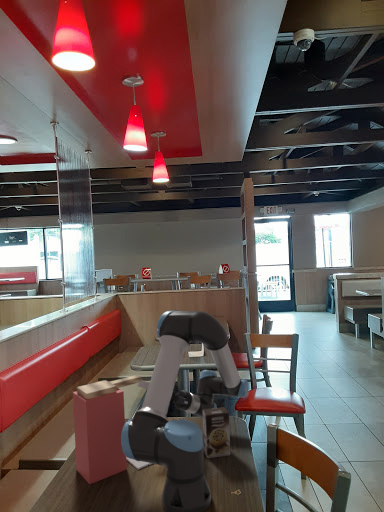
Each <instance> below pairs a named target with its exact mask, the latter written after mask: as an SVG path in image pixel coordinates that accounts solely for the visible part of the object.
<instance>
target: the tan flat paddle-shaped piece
mask: <svg viewBox="0 0 384 512" xmlns="http://www.w3.org/2000/svg"><path fill="white" fill-rule="evenodd" d="M142 378H143V377H142V376H141V375H139V374H134V375H131V376H128V377H127V376H126V377H123V378H119V379H115V380H111V381H108V380H106V379H105V380H104V379H103V380H100V381H96V382H93V383H89V384H84V385H80V386H79V385H78V386H77V387H76V391H77V393H78V394H80V395H81V396H82V397H84V398H85V399H91V398H95V397H99V396H102V395H106V394H110V393H113V392H117V391H116V388H118V389H121V388H123V387H124V388H125V387H128V386H131V385H135V384H138V383H139V382H142V380H143V379H142Z"/></svg>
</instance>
